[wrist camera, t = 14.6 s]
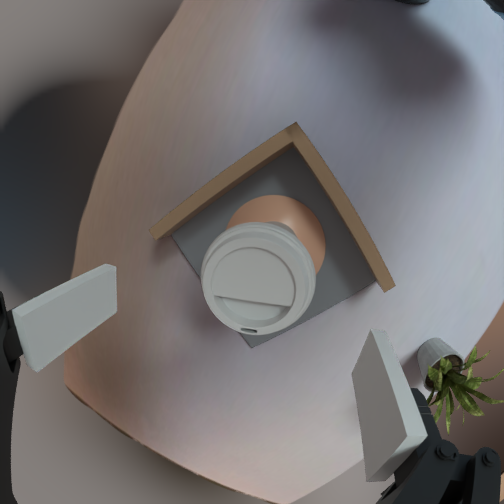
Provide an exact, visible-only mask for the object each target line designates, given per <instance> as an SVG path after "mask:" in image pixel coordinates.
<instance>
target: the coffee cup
mask: <svg viewBox="0 0 504 504" xmlns="http://www.w3.org/2000/svg"><path fill="white" fill-rule="evenodd" d="M201 285H202V290H203V294H204V297H205V299H206V302H207V304H208V306H209V308H210V310H211V311H212V312H213V314H214V315H215V316H216V317H217V318H218V319H219V320H220V321H221V322H222V323H223V324H225V325H226V326H228V327H229V328H231V329H233V330H235V331H238V332H241V333H244V334H250V335H265V334H270V333H273V332H276V331H279V330H282V329H284V328H286V327H288V326H290V325H291V324H293V323H294V322H295V321H297V320H298V319H299V318H300V317H301V316H302V315H303V313H304V312H305V311H306V309H307V308H308V306H309V304H310V303H311V300H312V298H313V295H314V291H315V286H316V273H315V268H314V264H313V261H312V258H311V256H310V254H309V252H308V251H307V249H306V248H305V246H304V245H303V244H302V243H301V242H300V240H299V239H298V238H297V236H296V234H295V233H294V231H293V230H292V229H291V228H290V227H289V226H287V225H286V224H284V223H281V222H277V221H269V222H265V223H263V222H248V223H243V224H239V225H236V226H233V227H231V228H229V229H227V230H226V231H224V232H223V233H221V234H220V235H219V236H218V237H217V238H216V239H215V240H214V241H213V242H212V243H211V245H210V246H209V248H208V250H207V252H206V254H205V256H204V259H203V263H202V267H201Z"/></svg>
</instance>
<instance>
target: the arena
mask: <svg viewBox="0 0 504 504" xmlns="http://www.w3.org/2000/svg"><path fill="white" fill-rule="evenodd" d="M269 221H277V222H281V223H284V224H286V225H287V226H289V227H290V228H291V229H292V230H293V231H294V233H295V234H296V236H297V238H298V239H299V240H300V242H301V243H302V244H303V245H304V246H305V248H306V249H307V251H308V252H309V254H310V256H311V258H312V261H313V264H314V268H315V273H316V286H315V291H314V295H313V298H312V300H311V303H310V304H309V306H308V308H307V309H306V311H305V312H304V313H303V315H302V316H301V317H300V318H299V319H298V320H297V321H295V322H294V323H293V324H291V325H290V326H288V327H286V328H284V329H282V330H279V331H276V332H273V333H270V334H265V335H250V334H244V333H241V332H240V333H241V335H242V336H243V337H244V339H245V340H246V341H247V342H248V344H249V345H250V346H251V348H253V347H255V346H257V345H259V344H261V343H264V342H266V341H268V340H270V339H272V338H274V337H276V336H278V335H280V334H282V333H284V332H286V331H288V330H290V329H291V328H293V327H295V326H297V325H299V324H301V323H303V322H305V321H307V320H309V319H310V318H312V317H314V316H316V315H318V314H320V313H321V312H323V311H325V310H327V309H329V308H330V307H332V306H334V305H336V304H337V303H339V302H341V301H343V300H344V299H346V298H348V297H349V296H351V295H353V294H355V293H356V292H358V291H360V290H361V289H363V288H365V287H366V286H368V285H369V284H371V283H373V282H374V281H377V283H378V284H379V286H380V287H381V289H382V290H383V291H384V293H385V292H386V291H388V290H390V289H391V288H393V287H394V286H396V285H395V283H394V281H393V279H392V277H391V275H390V273H389V271H388V269H387V267H386V265H385V263H384V261H383V259H382V257H381V255H380V254H379V252H378V250H377V248H376V246H375V244H374V242H373V240H372V239H371V237H370V235H369V233H368V231H367V230H366V228H365V226H364V224H363V223H362V221H361V219H360V217H359V216H358V214H357V212H356V211H355V209H354V207H353V206H352V204H351V202H350V201H349V199H348V197H347V196H346V194H345V192H344V191H343V189H342V188H341V186H340V185H339V183H338V181H337V180H336V178H335V177H334V175H333V174H332V172H331V171H330V169H329V168H328V166H327V165H326V163H325V162H324V160H323V159H322V157H321V156H320V154H319V153H318V151H317V150H316V149H315V147H314V146H313V144H312V143H311V141H310V140H309V139H308V137H307V136H306V134H305V133H304V132H303V130H302V129H301V128H300V126H299V125H298V124H297V122H295V123H293V124H292V125H290V126H288V127H287V128H285V129H284V130H282V131H281V132H279V133H278V134H276V135H275V136H273V137H272V138H270V139H269V140H267V141H266V142H264V143H263V144H261V145H260V146H258V147H257V148H255V149H254V150H252V151H251V152H250V153H248V154H247V155H245V156H244V157H242V158H241V159H240V160H238V161H237V162H235V163H234V164H233V165H231V166H230V167H228V168H227V169H226V170H224V171H223V172H222V173H220V174H219V175H217V176H216V177H215V178H213V179H212V180H211V181H209V182H208V183H207V184H205V185H204V186H203V187H202V188H200V189H199V190H198V191H196V192H195V193H194V194H192V195H191V196H190V197H189V198H187V199H186V200H185V201H184V202H182V203H181V204H180V205H179V206H177V207H176V208H175V209H174V210H172V211H171V212H170V213H169V214H167V215H166V216H165V217H164V218H163V219H161V220H160V221H159V222H158V223H157V224H155V225H154V226H153V227H152V228H151V229H149V231H150V233H151V234H152V236H153V238H154V239H155V241H156V240H158V239H161V238H163V237H166V236H168V235H171V236H172V237H173V239H174V240H175V242H176V243H177V245H178V246H179V248H180V249H181V251H182V252H183V253H184V255H185V256H186V258H187V259H188V261H189V262H190V264H191V265H192V267H193V268H194V270H195V271H196V272H197V274H198V275H199V277H200V278H201V267H202V263H203V259H204V256H205V254H206V252H207V250H208V248H209V246H210V245H211V243H212V242H213V241H214V240H215V239H216V238H217V237H218V236H219V235H220V234H221V233H223V232H224V231H226V230H227V229H229V228H231V227H233V226H236V225H239V224H243V223H248V222H263V223H265V222H269Z"/></svg>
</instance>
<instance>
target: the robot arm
mask: <svg viewBox="0 0 504 504" xmlns="http://www.w3.org/2000/svg"><path fill="white" fill-rule="evenodd" d="M397 1H400V2H404V3H411V4H420V3H425V2H427V1H429V0H397ZM484 1H485V2H486V3H487V4H488V5H489V6H490V8H491V9H492V10H493V11H494V12H495V13H497V14H498V15H499V16H500V17H501V18H502V19H503V20H504V0H484ZM116 312H117V293H116V267H115V266H112V265H109V264H103V265H101V266H99V267H97V268H95V269H93V270H90V271H88V272H86V273H84V274H82V275H80V276H78V277H76V278H74V279H72V280H69V281H68V282H65V283H63V284H61V285H59V286H57V287H55V288H53V289H51V290H49V291H47V292H45V293H43V294H40V295H38V296H36V297H34V298H32V299H30V300H29V301H26V302H25V303H23V304H21V305H19V306H17V307H15V308H13V309H11V310H9V311H6V307H5V302H4V297H3V294H2V292H1V291H0V504H18V503H17V501H16V500H15V498H14V495H13V493H12V483H11V430H12V417H13V408H14V400H15V392H16V387H17V381H18V375H19V369H20V358H19V357H20V356H21V355H23V354H24V358H25V361H26V364H27V365H28V366H29V367H30V368H32V369H33V370H34V371H35V372H39V371H40V370H41V369H42V368H44V367H45V366H46V365H47V364H49V363H50V362H51V361H53V360H54V359H55V358H56V357H58V356H59V355H60V354H61V353H63V352H64V351H66V350H67V349H68V348H69V347H71V346H72V345H73V344H75V343H76V342H77V341H79V340H80V339H81V338H83V337H84V336H85V335H87V334H88V333H89V332H91V331H92V330H93V329H95V328H96V327H97V326H99V325H100V324H101V323H103V322H104V321H105V320H107V319H108V318H109V317H111V316H112V315H114V314H115V313H116ZM352 378H353V384H354V390H355V396H356V402H357V408H358V415H359V422H360V429H361V436H362V444H363V453H364V461H365V472H366V481H367V482H376V481H386V480H387V479H388V478H389V477H390V476H391V475H392V474H393V473H394V476H395V482H394V483H392V484H391V485H390V486H389V487H388V488H387V489H386V490H385V491H383V492H382V493H381V495H382V497H381V498H380V499H379V500H378V502H377V503H376V504H499V501H500V484H501V461H500V457H499V455H498V454H497V452H496V451H495V450H493V449H491V448H489V447H483V448H480V449H479V450H478V451H477V453H476V454H475V455H474V456H470V455H464V454H459V452H458V449H457V448H456V447H455V445H454V444H452V443H451V442H450V441H446V440H442V438H441V436H440V433H439V430H438V428H437V425H436V423H435V420H434V418H433V415H431V411H430V408H429V407H428V403H427V401H426V399H425V396H424V395H423V394H422V393H421V392H420V391H419V390H418V389H417V388H410V387H409V384H408V382H407V380H406V377H405V375H404V372H403V370H402V368H401V365H400V363H399V361H398V358H397V356H396V354H395V352H394V349H393V347H392V345H391V343H390V341H389V339H388V336H387V334H386V332H385V331H382V330H376V329H370V332H369V334H368V337H367V339H366V342H365V344H364V347H363V349H362V351H361V354H360V356H359V358H358V361H357V363H356V365H355V367H354V370H353V372H352Z"/></svg>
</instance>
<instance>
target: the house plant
mask: <svg viewBox="0 0 504 504" xmlns="http://www.w3.org/2000/svg"><path fill="white" fill-rule="evenodd" d="M489 352H490V351H489ZM489 352H488V353H489ZM488 353H487V354H486V355H484V356H483V357H481V358H480V359H477V360H475V359H476V356H477V351H476V346H475V348H474V349H473V351H472V353H471V354H470V357H469V359H468V361H467V363H464V359H463V357H462V356H461V355H460V354H459V353H458V352H457V351H455V350H454V349H453V348H451V347H450V346H449V345H448V344H446V343H445V342H444V341H443V340H441V339H440V338H432V339H429V340H428V341H426V342H425V343H424V344H423V345H422V346H421V347H420V349H419V351H418V353H417V359H418V363H419V367H420V371H421V375H422V379H423V384H424V387H425V388H426V389H427V390H428V391H431V394H430V396H429V397H428V399H427V400H426V401H427V403H428V404H429V403H430V401H431V399H432V397H433V394H434V392H438V393H437V396H436V399H435V401H434V402H433V403H432V404H430V405H428V406H431V405H433V404H436V405H438V409H437V411H436V413H435V415H434V417H433V418H434V420H435V423H436V422H437V420H438V418H439V416H440V414H441V411H442V405H443V400H444V397H445V396H446V424H447V431H448V434H449V426H450V415H451V414H452V412H453V410H454V403H453V398H452V394H451V391H450V388H451V389H452V391H453V393H454V395H455V397H456V398H457V400H458V401H459V403H460V404H461V405H462V407H463V408H464V409H465V410H466V411H467V412H469V413H470V414H472V415H475V416H480V415H484V414H483V412H482V411H481V410H480V408H479V407H478V405H477V404H476V402H475V401H474V400H473V398H472V397H471V396H470V395H469V394H468V393H471V394H473V395H475V396H476V397H478V398H480V399H481V400H483V401H485V402H487V403H490V404H496V403H502V402H504V400H502V401H501V400H494V399H491V398H489V397H487V396H485V395H484V394H482V393H480V392H477V391H475V390H473V389H477V388H478V387H479V386H480V383H481V382H485V381H489V380H492V379H494V378H496V377H497V376H498V375H499V374H500V373H501V372H502V371H503V370H504V369H503V370H501V371H500V372H499V373H498V374H497V375H496V376H494V377H492V378H490V379H486V380H484V381H482V378H481V377H475V378H472V377H473V373H472V371H473V370H472V367H471V365H472V364H473V363H475V362H478V361H481V360H482V359H484V358H485V357H486V356H487V355H488ZM464 365H465V367H464ZM469 367H470V369H469V371H468V375H467V376H468V377H467V376H464V375H462V374H461V373H462V371H463V370H465V369H467V368H469ZM449 386H450V388H449ZM466 391H467V392H468V393H467V392H466ZM439 400H440V401H439ZM469 402H470V403H469ZM459 406H460V405H459ZM458 408H459V407H458ZM463 421H464V420H463ZM463 423H464V422H463Z"/></svg>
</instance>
